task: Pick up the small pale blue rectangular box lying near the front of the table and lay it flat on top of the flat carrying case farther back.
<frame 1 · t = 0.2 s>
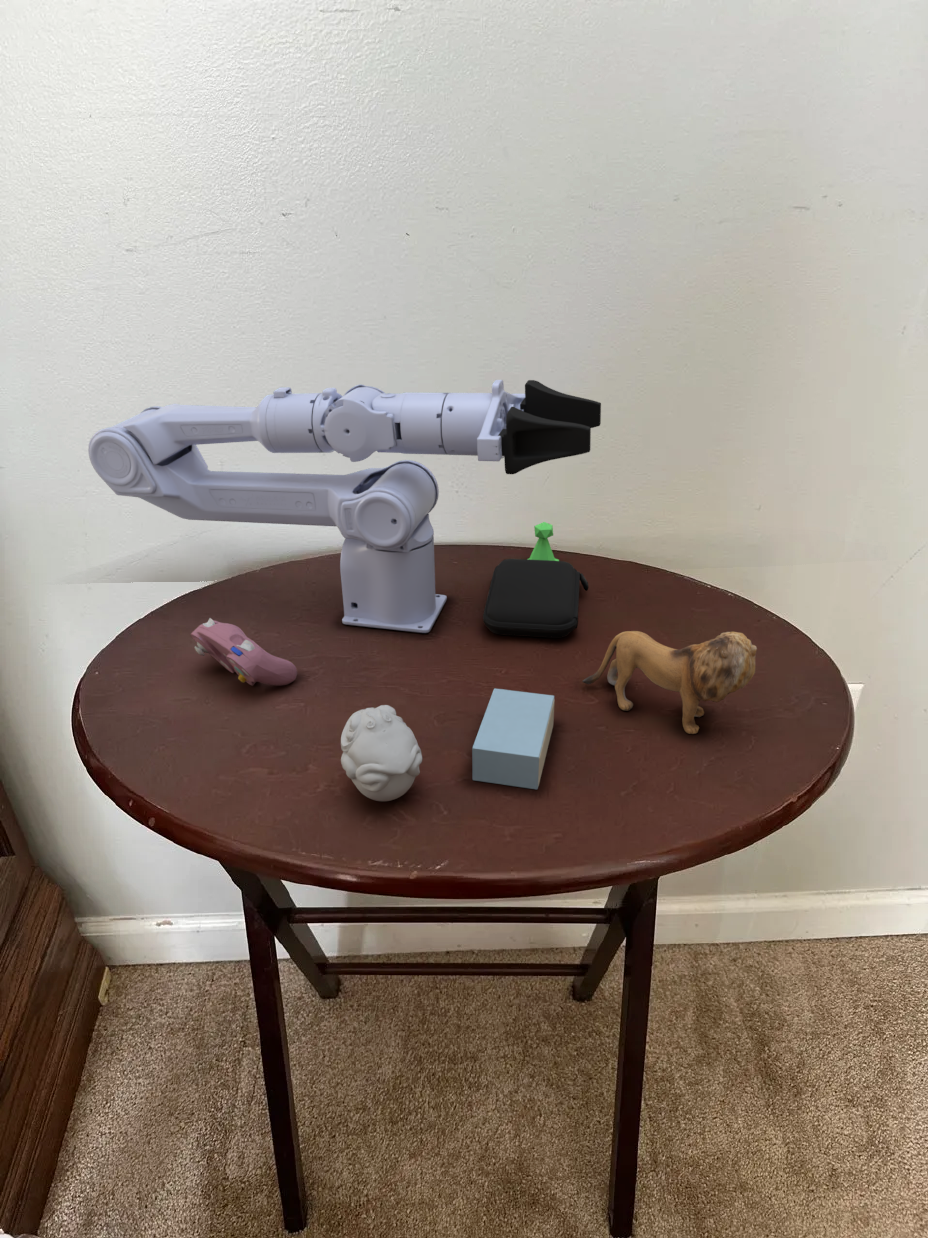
hand: (595, 426, 76), 22 cm above the table, tool horizontal, fingers open, 7 cm apart
carrying case: (537, 610, 92), on the table
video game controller: (246, 677, 81), on the table
frog figurine: (384, 793, 66), on the table
game piece: (542, 570, 101), on the table
lion figurine: (665, 710, 75), on the table
pale blue rectangular box: (514, 752, 70), on the table
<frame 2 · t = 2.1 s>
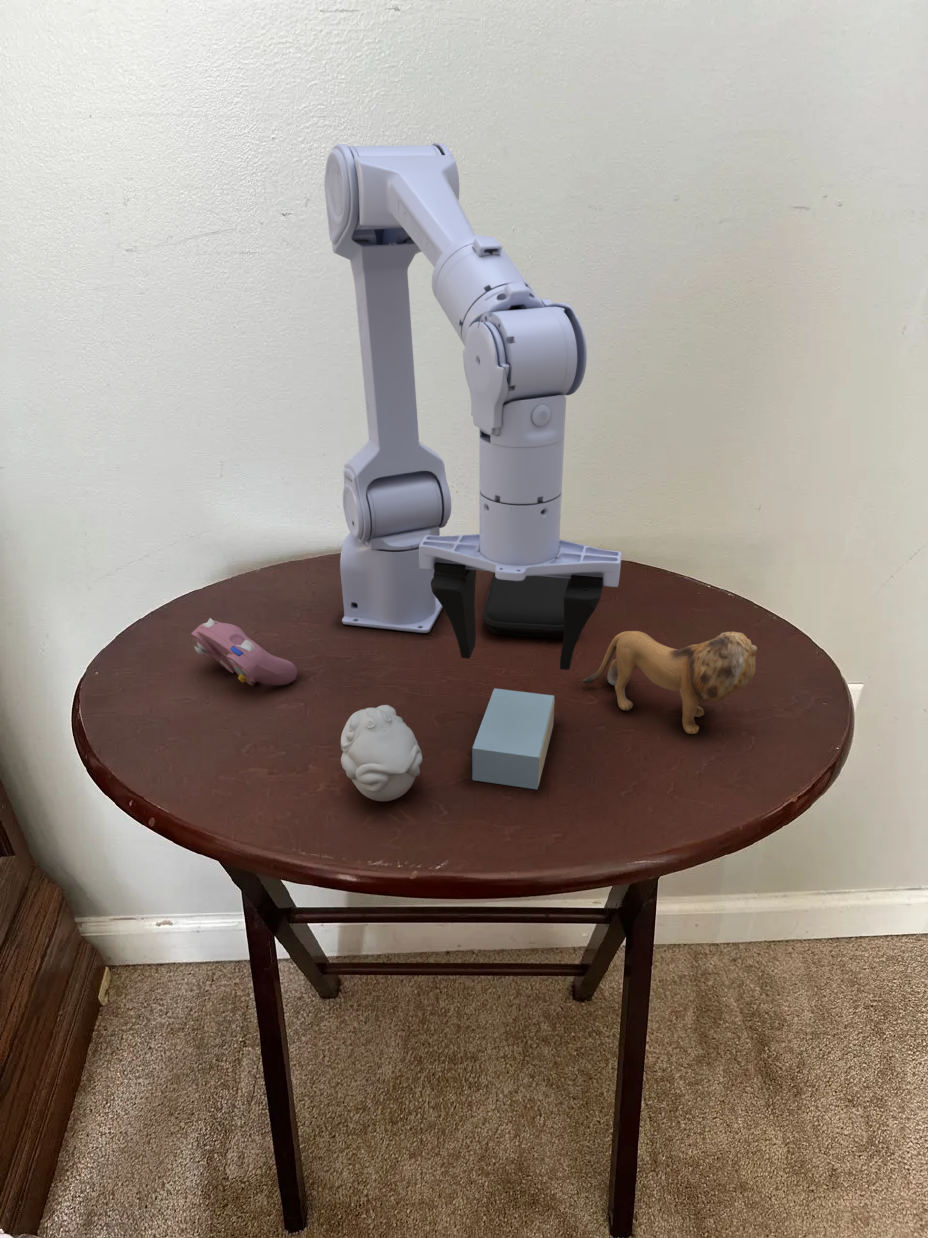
hand: (516, 657, 66), 9 cm above the table, tool pointing down, fingers open, 7 cm apart
nothing on the table moved.
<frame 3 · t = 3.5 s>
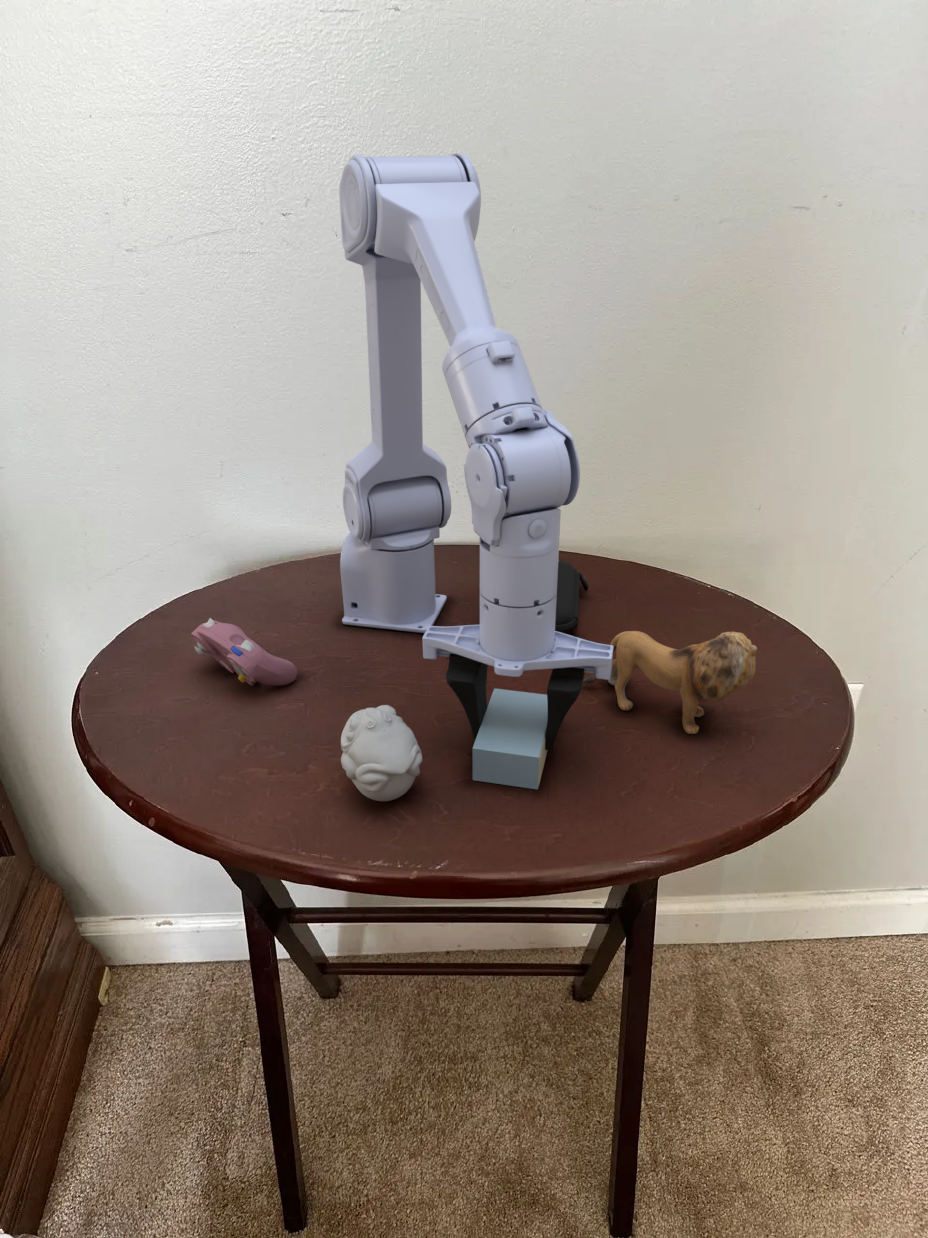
hand: (514, 738, 69), 1 cm above the table, tool pointing down, fingers closed on pale blue rectangular box, 5 cm apart
pale blue rectangular box: (514, 752, 70), on the table, touching gripper
everything else where it was.
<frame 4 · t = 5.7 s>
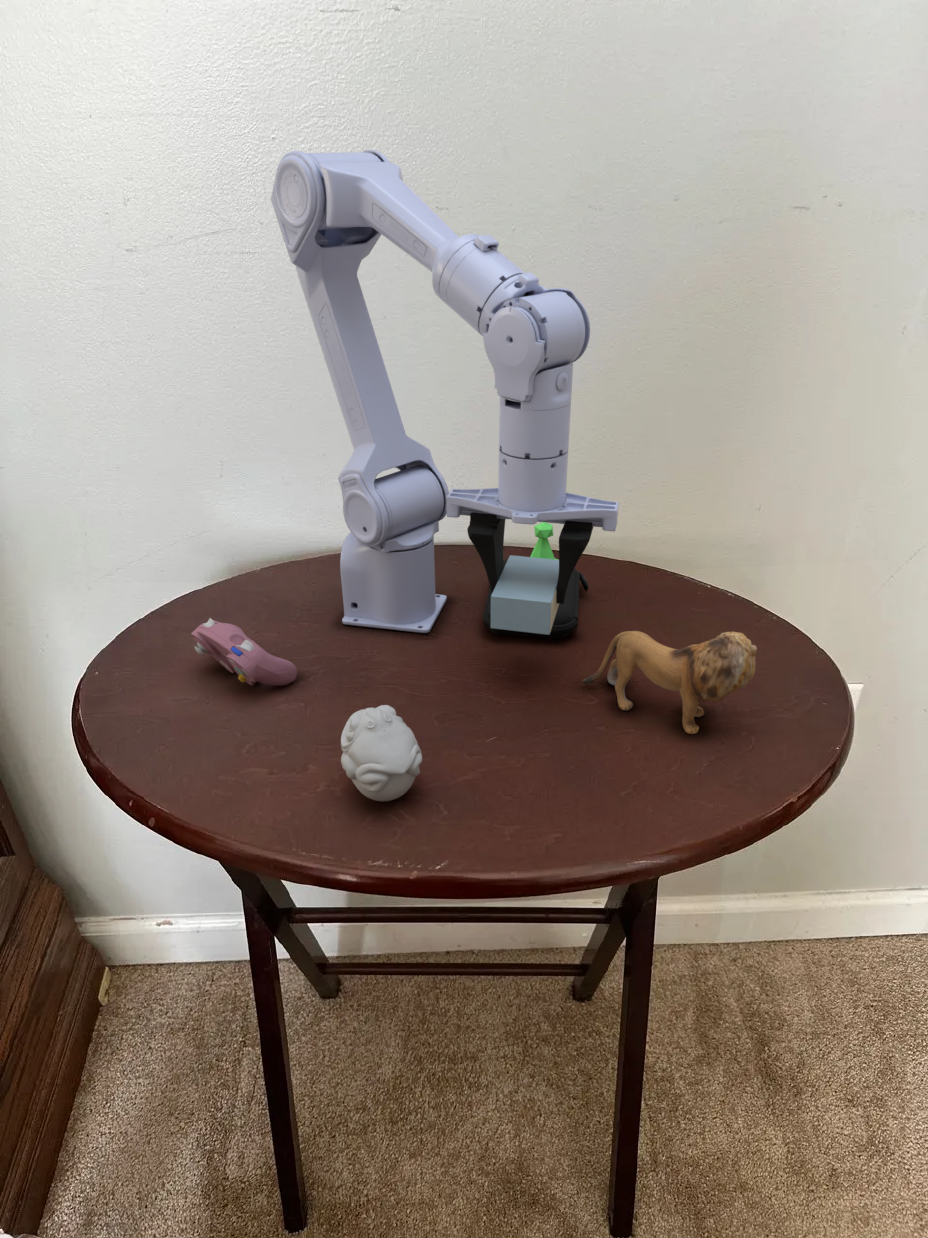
hand: (528, 595, 77), 8 cm above the table, tool pointing down, fingers closed on pale blue rectangular box, 5 cm apart
pale blue rectangular box: (528, 608, 77), point 7 cm above the table, touching gripper
everything else where it was.
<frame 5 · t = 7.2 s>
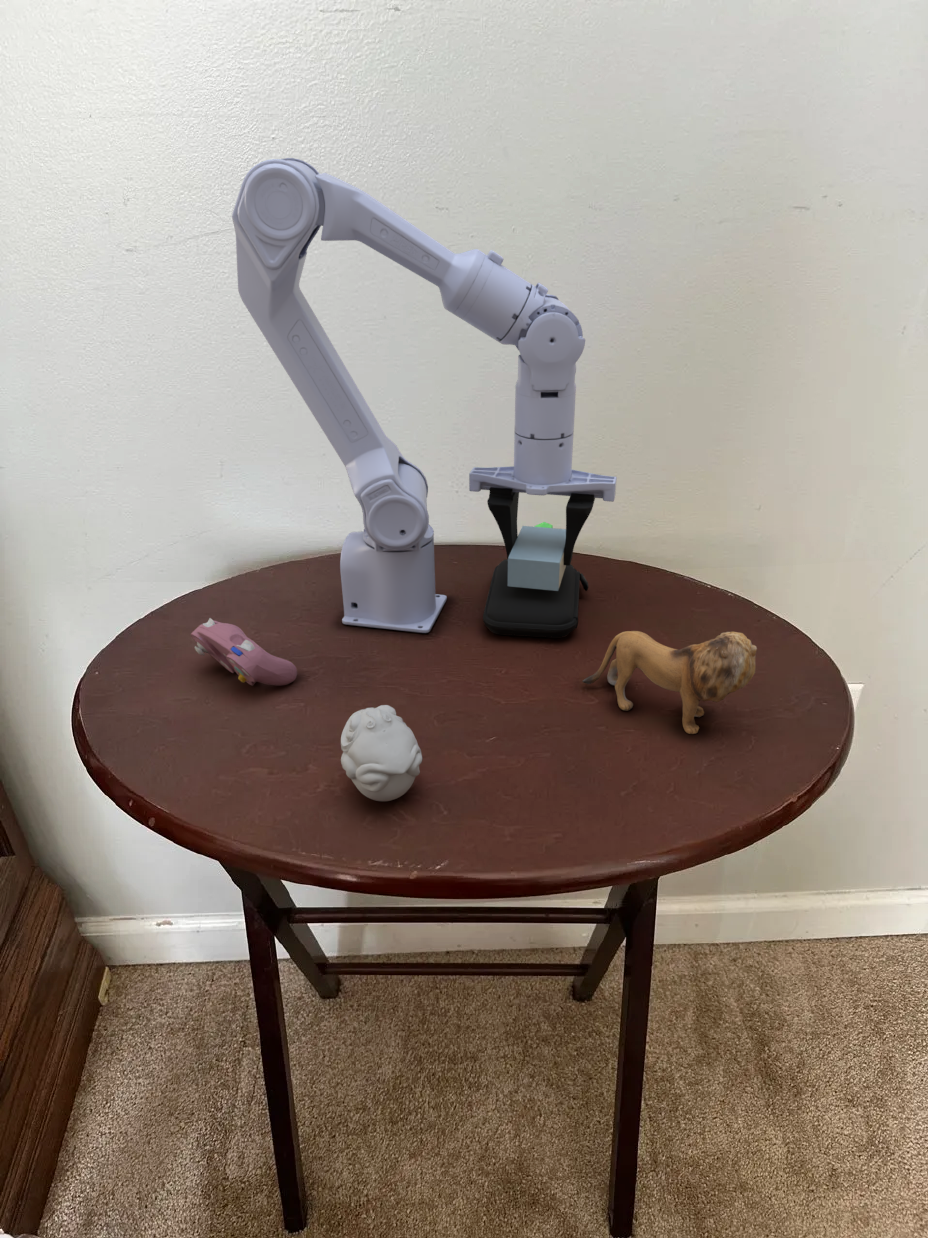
hand: (539, 559, 89), 6 cm above the table, tool pointing down, fingers closed on pale blue rectangular box, 5 cm apart
pale blue rectangular box: (539, 570, 90), point 5 cm above the table, touching gripper
everything else where it was.
when the fingers open (4 cm above the table, at t = 8.2 s): pale blue rectangular box stays where it is, resting on carrying case.
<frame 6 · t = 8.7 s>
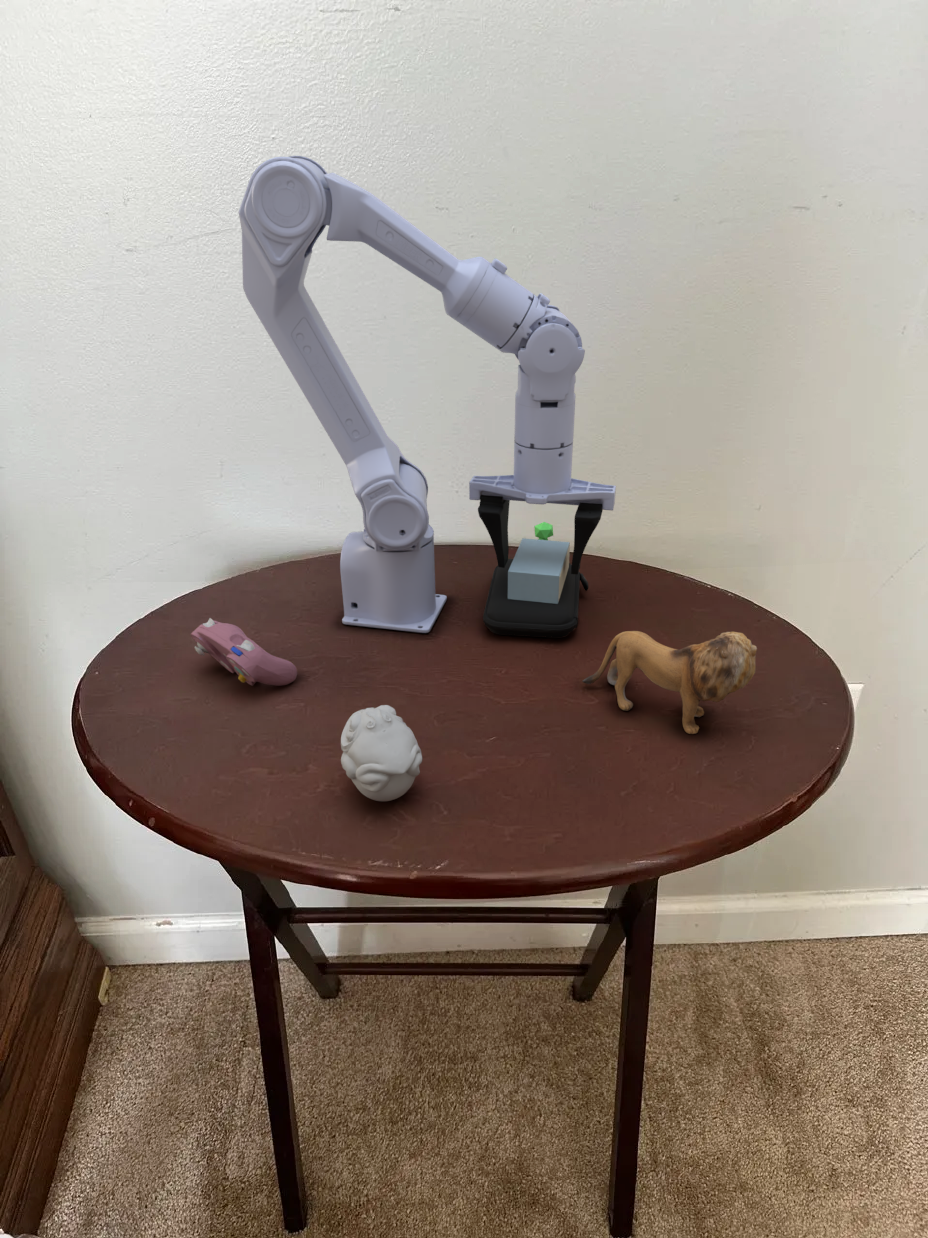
hand: (539, 566, 89), 5 cm above the table, tool pointing down, fingers open, 7 cm apart
carrying case: (537, 610, 92), on the table, touching pale blue rectangular box
pale blue rectangular box: (538, 583, 90), point 3 cm above the table, touching carrying case
everything else where it was.
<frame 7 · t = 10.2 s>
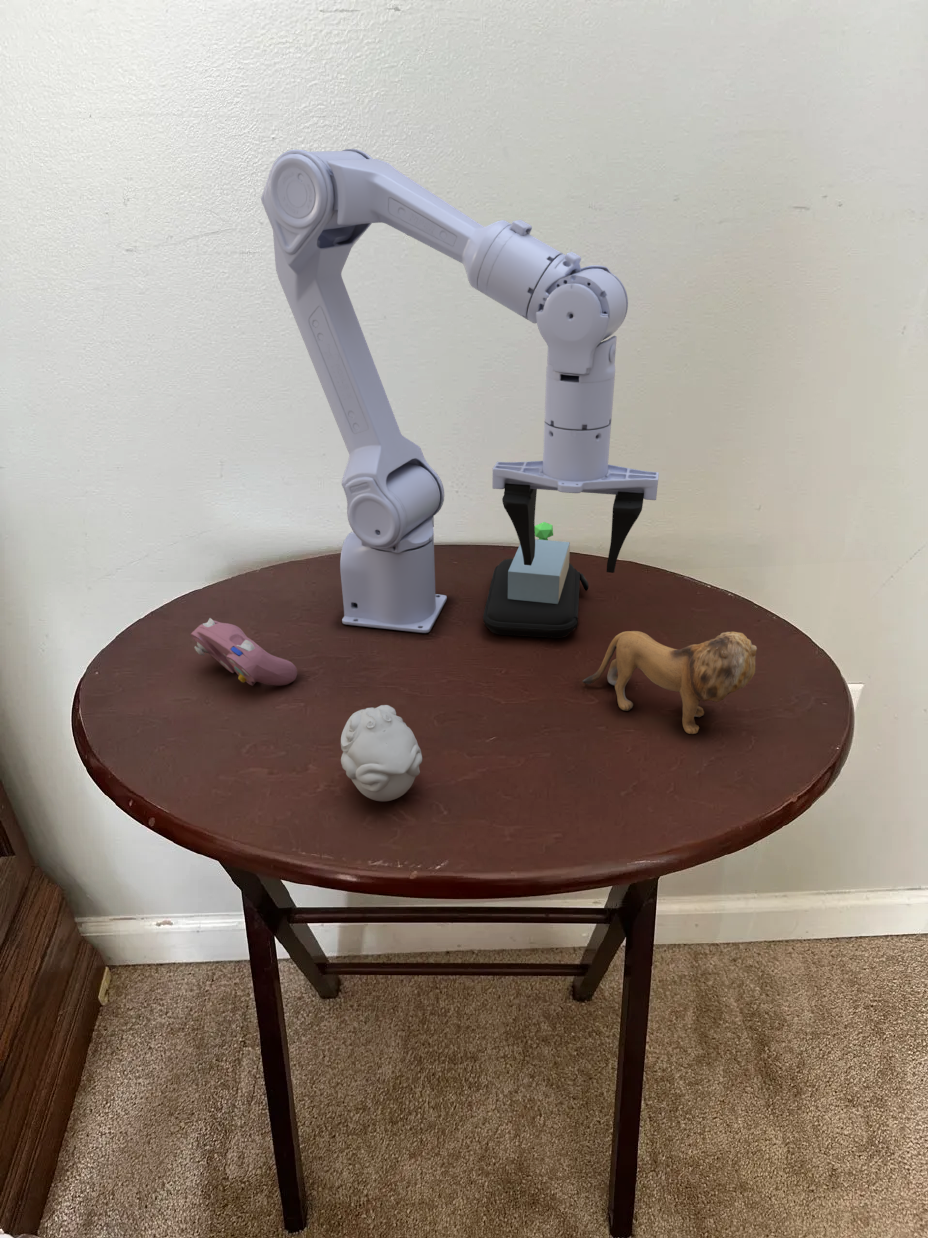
hand: (569, 564, 80), 9 cm above the table, tool pointing down, fingers open, 7 cm apart
nothing on the table moved.
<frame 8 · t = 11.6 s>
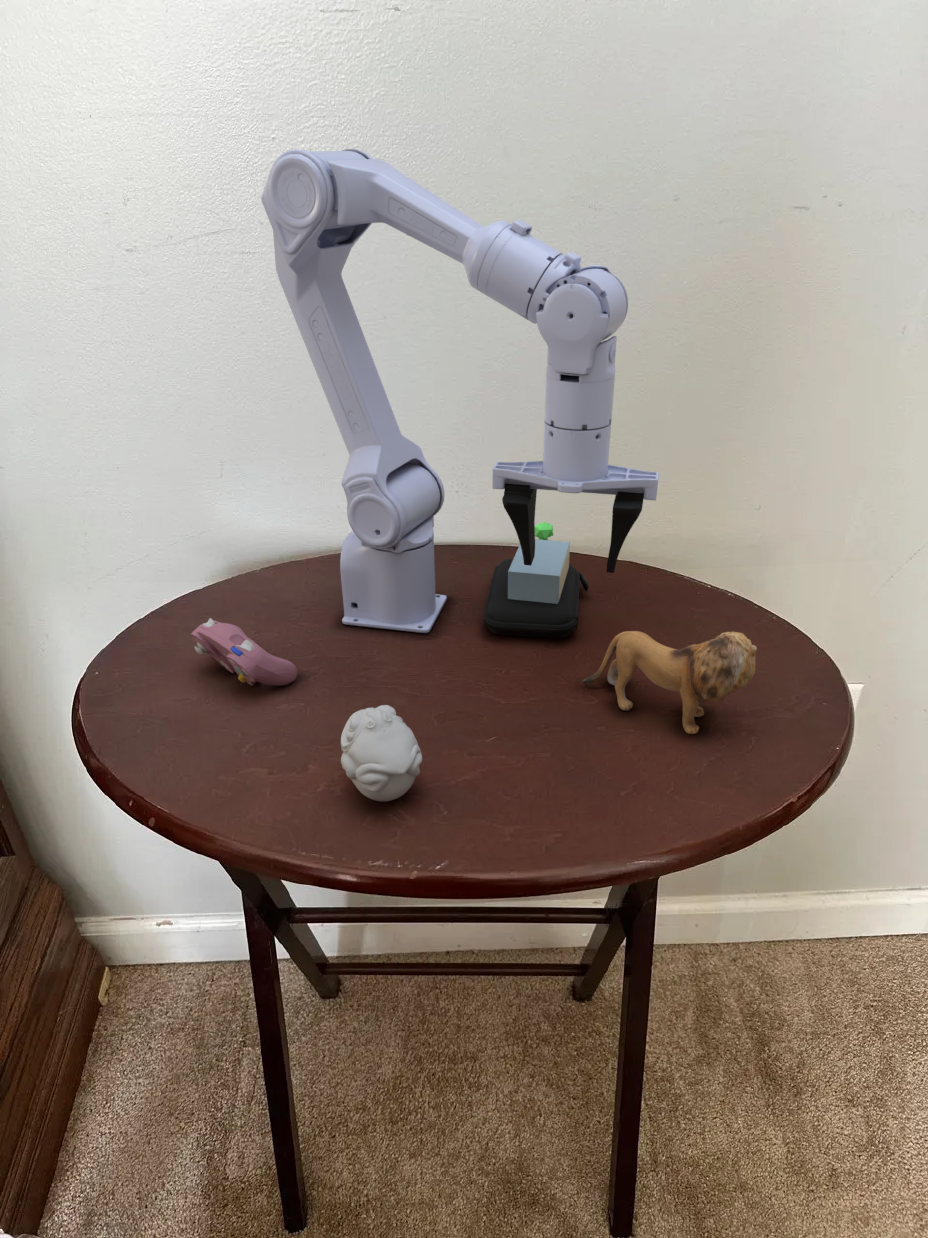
hand: (569, 564, 80), 9 cm above the table, tool pointing down, fingers open, 7 cm apart
nothing on the table moved.
at the end: pale blue rectangular box inside the target area on the carrying case (0.0 cm from its centre), point 3.3 cm above the carrying case's base; pale blue rectangular box tilted 0° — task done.
